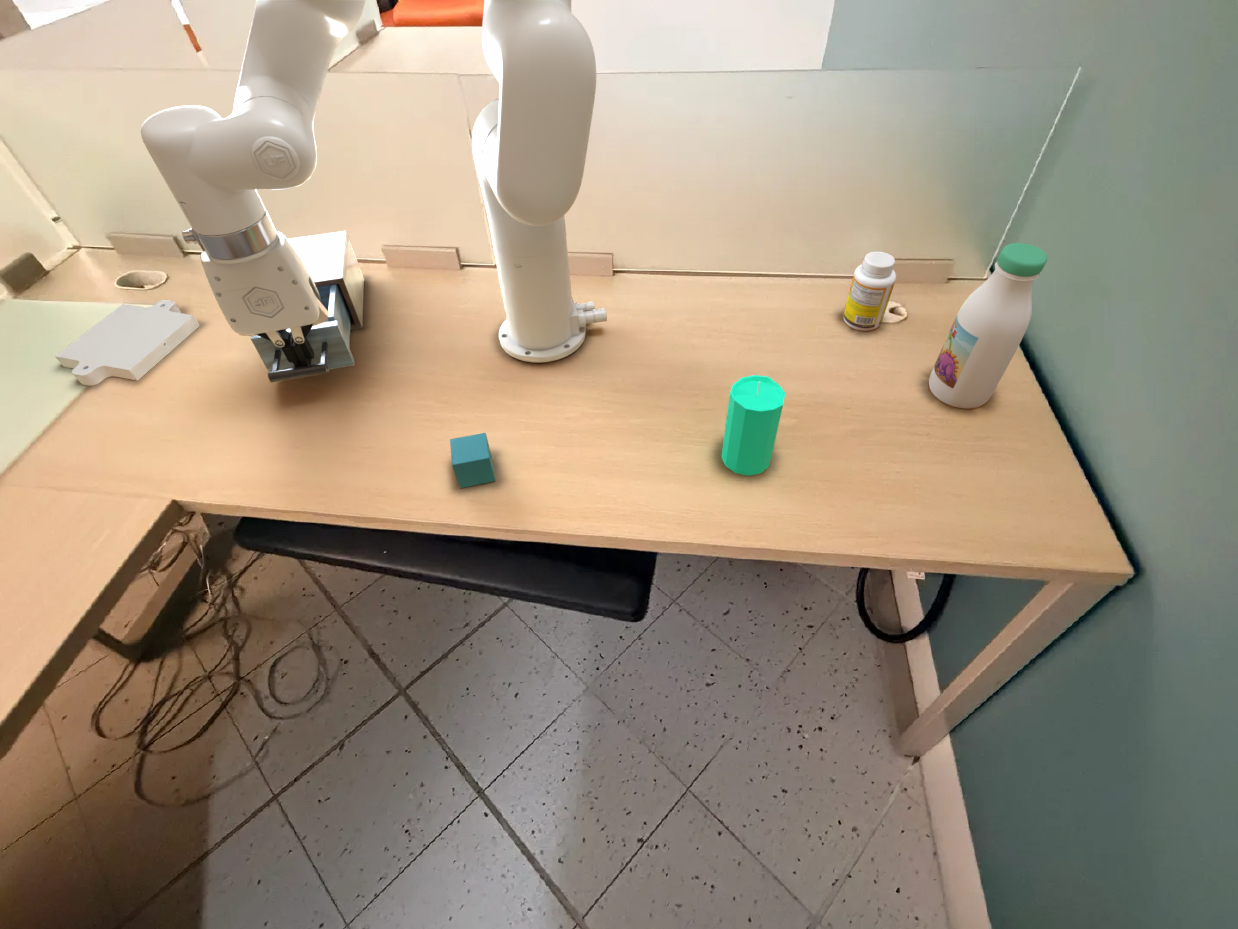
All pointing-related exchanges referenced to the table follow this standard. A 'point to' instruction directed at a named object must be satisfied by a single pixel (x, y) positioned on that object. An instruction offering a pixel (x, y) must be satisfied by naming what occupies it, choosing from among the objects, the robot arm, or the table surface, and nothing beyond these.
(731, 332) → the table surface
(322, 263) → the cabinet
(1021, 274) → the milk bottle
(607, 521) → the table surface
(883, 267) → the supplement bottle
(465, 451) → the teal wooden cube
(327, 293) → the drawer
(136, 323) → the mounting plate
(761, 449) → the candle
